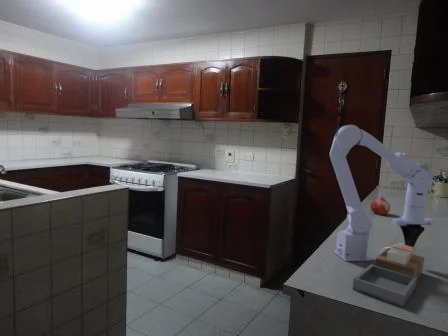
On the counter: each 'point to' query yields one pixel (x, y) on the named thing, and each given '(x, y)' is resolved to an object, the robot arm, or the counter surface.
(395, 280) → the box
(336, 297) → the counter surface
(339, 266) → the counter surface
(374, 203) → the fruit
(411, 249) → the terracotta tile
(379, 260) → the walnut board
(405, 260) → the cream tile
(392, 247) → the sprinkles bottle
